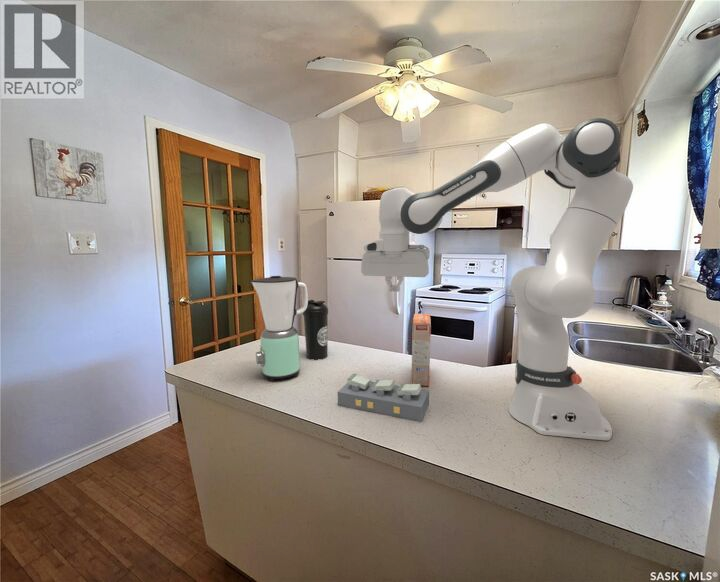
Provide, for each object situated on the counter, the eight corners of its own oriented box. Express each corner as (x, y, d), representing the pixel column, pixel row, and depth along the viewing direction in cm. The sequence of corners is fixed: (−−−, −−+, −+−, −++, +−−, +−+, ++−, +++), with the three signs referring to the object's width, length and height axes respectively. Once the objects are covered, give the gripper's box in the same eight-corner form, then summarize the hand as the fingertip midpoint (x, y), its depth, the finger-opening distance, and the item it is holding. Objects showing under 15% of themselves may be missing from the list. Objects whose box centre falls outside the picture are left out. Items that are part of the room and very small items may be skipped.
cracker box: (430, 387, 104) (431, 323, 101) (410, 386, 105) (411, 322, 102) (429, 370, 117) (430, 313, 114) (412, 369, 118) (413, 312, 115)
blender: (260, 386, 106) (253, 279, 101) (254, 372, 118) (247, 276, 113) (316, 375, 115) (312, 276, 109) (304, 362, 126) (300, 272, 121)
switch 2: (395, 384, 93) (394, 379, 93) (390, 390, 90) (389, 384, 89) (377, 385, 96) (375, 380, 95) (372, 391, 92) (371, 385, 92)
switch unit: (428, 403, 93) (429, 384, 92) (421, 422, 84) (421, 401, 83) (352, 390, 103) (351, 372, 102) (337, 405, 93) (336, 386, 92)
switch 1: (369, 383, 96) (370, 378, 96) (364, 389, 93) (365, 384, 92) (352, 377, 98) (353, 373, 98) (347, 383, 95) (347, 378, 94)
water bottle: (318, 362, 127) (316, 304, 123) (299, 357, 132) (296, 301, 129) (334, 354, 135) (333, 299, 131) (315, 350, 140) (313, 297, 137)
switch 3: (421, 388, 90) (420, 383, 90) (417, 395, 87) (416, 389, 87) (401, 389, 93) (400, 383, 93) (397, 395, 89) (396, 389, 89)
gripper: (431, 244, 95) (430, 291, 97) (366, 245, 103) (367, 288, 105) (427, 244, 90) (426, 294, 92) (358, 245, 98) (359, 291, 100)
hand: (394, 291), depth 99 cm, fingers closed
